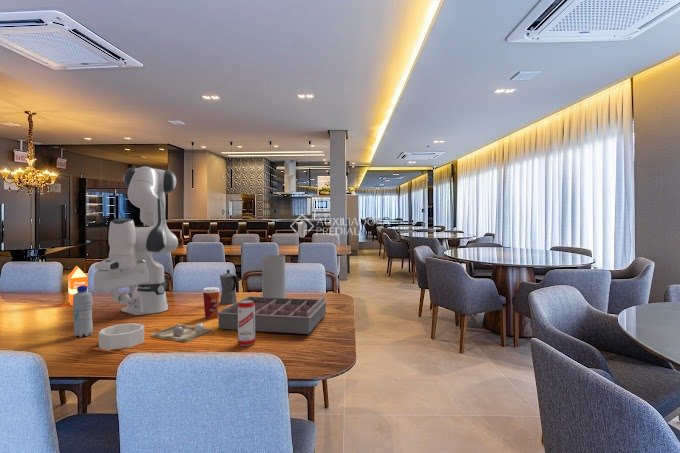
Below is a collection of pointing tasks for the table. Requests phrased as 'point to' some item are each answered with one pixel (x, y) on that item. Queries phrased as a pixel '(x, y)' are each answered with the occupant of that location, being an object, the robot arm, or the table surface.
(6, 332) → the table surface
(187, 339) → the oak tray
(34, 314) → the table surface
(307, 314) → the organizer tray
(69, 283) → the orange juice
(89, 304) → the bottle
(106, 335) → the ceramic bowl
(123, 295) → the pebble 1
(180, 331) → the grey ball
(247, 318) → the beer can
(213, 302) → the paper cup
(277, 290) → the cylinder vase
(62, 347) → the table surface
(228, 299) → the coffeepot
